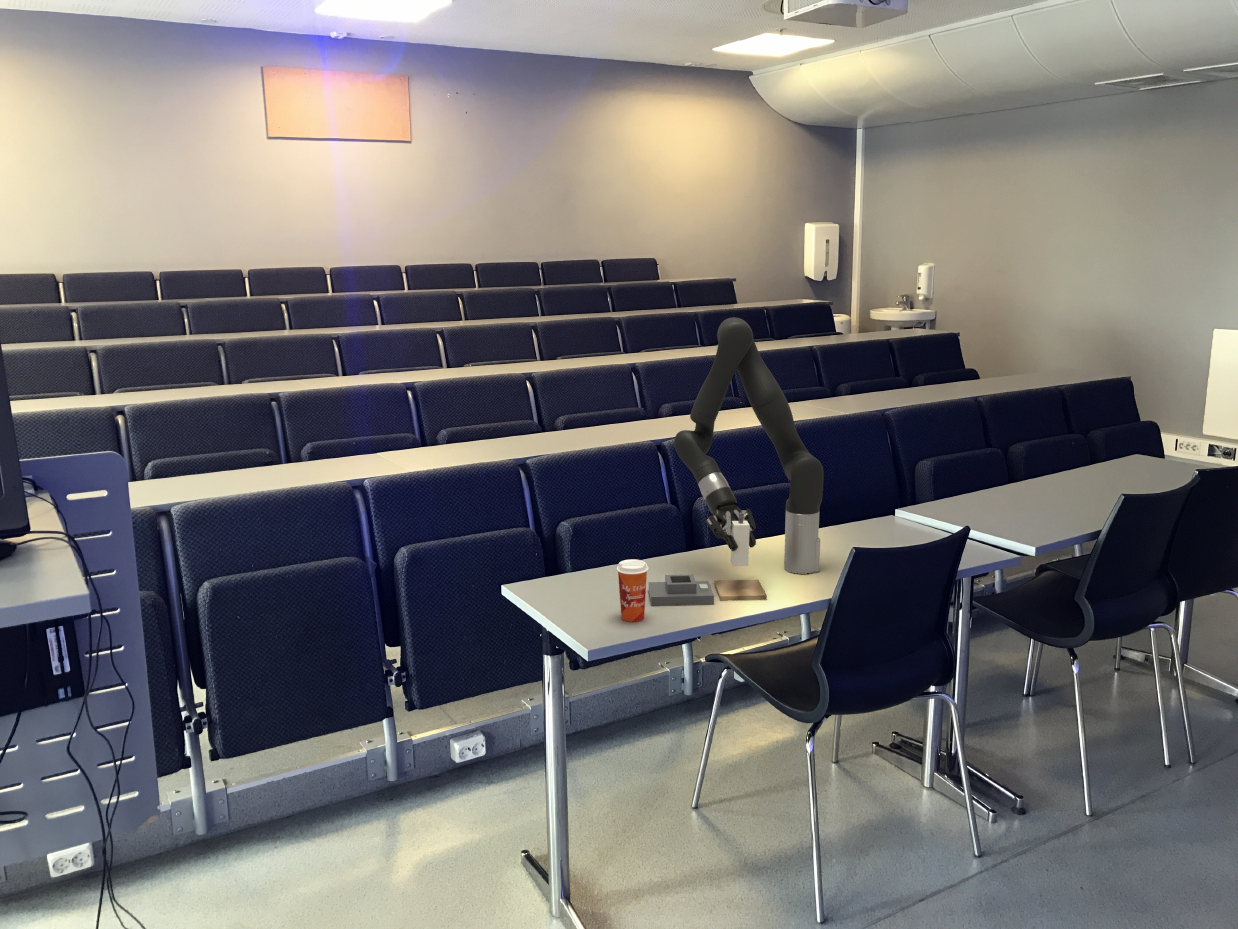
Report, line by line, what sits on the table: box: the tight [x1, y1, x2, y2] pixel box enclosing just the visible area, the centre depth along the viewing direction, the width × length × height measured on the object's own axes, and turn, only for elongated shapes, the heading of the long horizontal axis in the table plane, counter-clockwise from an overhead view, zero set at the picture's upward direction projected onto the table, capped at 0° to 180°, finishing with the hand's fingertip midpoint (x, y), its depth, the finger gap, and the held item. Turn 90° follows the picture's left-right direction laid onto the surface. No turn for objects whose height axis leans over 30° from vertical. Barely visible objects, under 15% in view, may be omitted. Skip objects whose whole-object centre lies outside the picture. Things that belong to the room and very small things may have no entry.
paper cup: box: [616, 558, 650, 623], centre depth 228 cm, size 8×8×14 cm
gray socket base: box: [648, 573, 715, 607], centre depth 242 cm, size 16×11×5 cm
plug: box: [730, 513, 750, 567], centre depth 243 cm, size 4×4×14 cm
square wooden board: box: [713, 578, 768, 602], centre depth 246 cm, size 12×12×1 cm
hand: (744, 547), depth 242 cm, fingers closed on plug, 5 cm apart
